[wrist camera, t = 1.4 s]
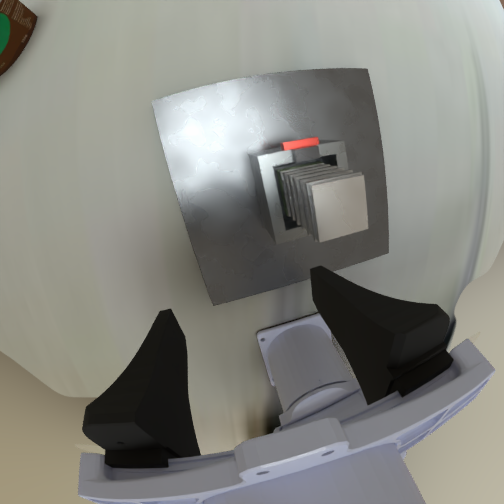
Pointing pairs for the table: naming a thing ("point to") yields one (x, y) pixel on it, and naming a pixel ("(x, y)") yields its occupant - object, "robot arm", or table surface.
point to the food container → (14, 31)
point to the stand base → (270, 173)
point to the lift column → (323, 198)
